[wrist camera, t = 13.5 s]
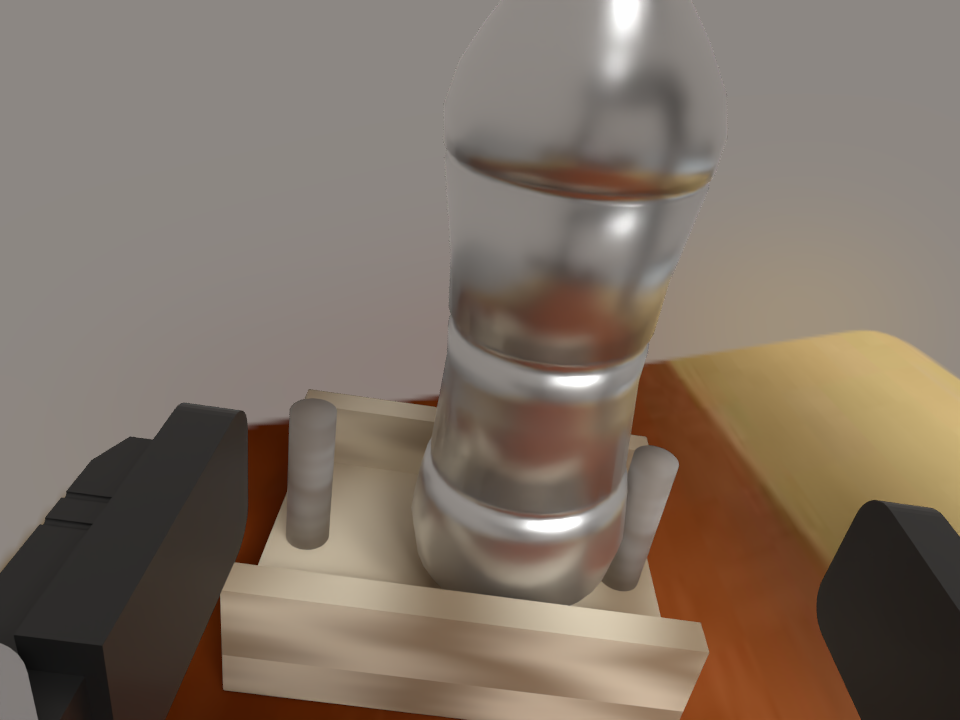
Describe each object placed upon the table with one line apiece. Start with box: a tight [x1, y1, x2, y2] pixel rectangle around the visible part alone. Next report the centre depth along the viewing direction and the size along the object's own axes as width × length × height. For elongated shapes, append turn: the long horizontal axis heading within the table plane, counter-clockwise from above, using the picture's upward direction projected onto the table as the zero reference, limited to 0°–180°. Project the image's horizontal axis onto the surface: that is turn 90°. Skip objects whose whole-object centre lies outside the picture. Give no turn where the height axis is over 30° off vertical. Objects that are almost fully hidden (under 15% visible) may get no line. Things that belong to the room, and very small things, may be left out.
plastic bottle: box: [411, 0, 728, 606], centre depth 20 cm, size 6×7×20 cm
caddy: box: [220, 389, 709, 720], centre depth 24 cm, size 13×10×6 cm
